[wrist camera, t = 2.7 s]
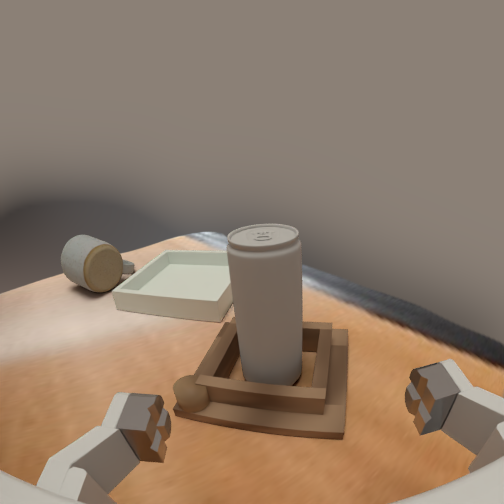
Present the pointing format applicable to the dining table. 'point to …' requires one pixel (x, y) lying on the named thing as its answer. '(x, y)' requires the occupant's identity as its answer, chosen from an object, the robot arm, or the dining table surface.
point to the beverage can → (267, 301)
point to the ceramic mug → (93, 263)
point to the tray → (179, 286)
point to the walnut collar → (270, 389)
